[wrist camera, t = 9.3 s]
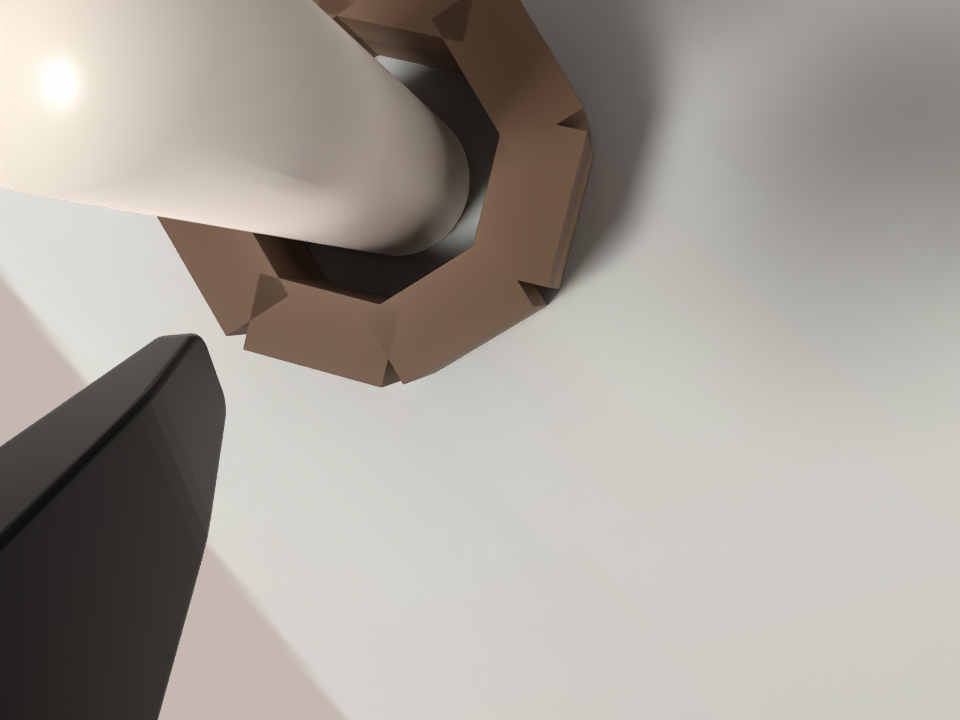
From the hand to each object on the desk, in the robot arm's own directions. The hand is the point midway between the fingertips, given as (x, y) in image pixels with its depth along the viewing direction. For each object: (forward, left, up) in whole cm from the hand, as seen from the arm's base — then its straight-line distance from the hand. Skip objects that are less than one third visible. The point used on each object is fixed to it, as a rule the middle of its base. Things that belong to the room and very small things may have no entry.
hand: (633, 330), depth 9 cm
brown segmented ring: (+2, +6, -12) cm, 14 cm away
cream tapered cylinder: (+2, +6, -12) cm, 13 cm away
